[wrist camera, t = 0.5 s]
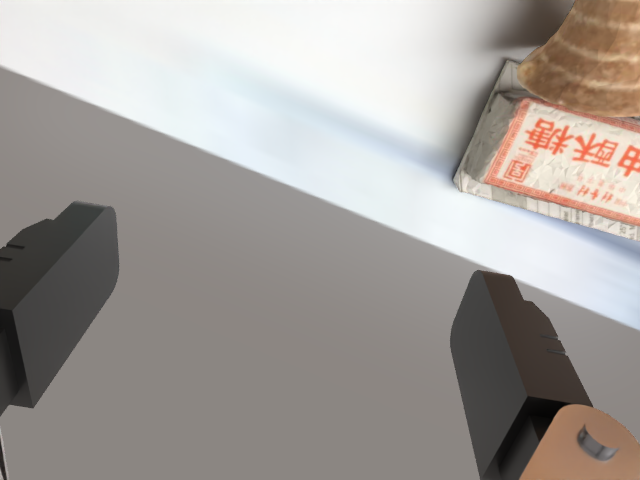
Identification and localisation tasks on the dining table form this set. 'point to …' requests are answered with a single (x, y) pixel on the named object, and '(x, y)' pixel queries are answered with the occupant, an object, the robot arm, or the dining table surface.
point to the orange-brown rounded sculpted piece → (590, 60)
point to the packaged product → (554, 160)
